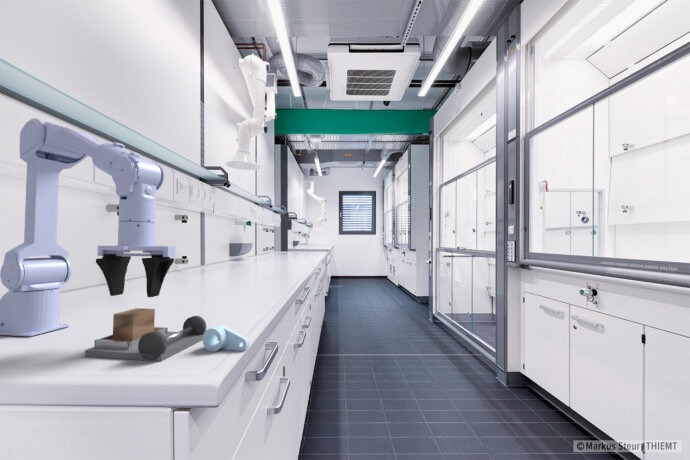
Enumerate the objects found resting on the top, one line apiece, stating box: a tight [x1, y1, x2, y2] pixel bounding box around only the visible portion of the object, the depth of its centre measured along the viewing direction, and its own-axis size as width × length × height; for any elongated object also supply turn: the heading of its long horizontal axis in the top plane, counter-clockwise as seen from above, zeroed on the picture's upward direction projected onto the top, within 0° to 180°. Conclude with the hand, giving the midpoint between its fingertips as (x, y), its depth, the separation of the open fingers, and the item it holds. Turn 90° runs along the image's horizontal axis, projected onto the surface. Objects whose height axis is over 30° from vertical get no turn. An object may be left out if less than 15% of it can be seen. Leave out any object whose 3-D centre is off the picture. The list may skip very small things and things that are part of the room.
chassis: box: [84, 315, 207, 362], centre depth 57 cm, size 14×12×4 cm
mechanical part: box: [202, 324, 250, 352], centre depth 55 cm, size 8×2×4 cm, turn 73°
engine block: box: [112, 307, 156, 341], centre depth 57 cm, size 4×5×5 cm
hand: (134, 295), depth 58 cm, fingers open, 7 cm apart
